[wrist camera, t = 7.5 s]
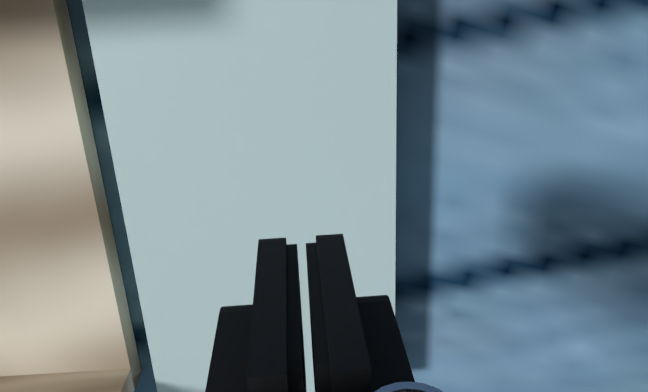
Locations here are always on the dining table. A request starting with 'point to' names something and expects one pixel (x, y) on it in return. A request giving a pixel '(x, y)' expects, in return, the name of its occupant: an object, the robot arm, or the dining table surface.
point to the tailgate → (245, 152)
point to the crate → (55, 220)
